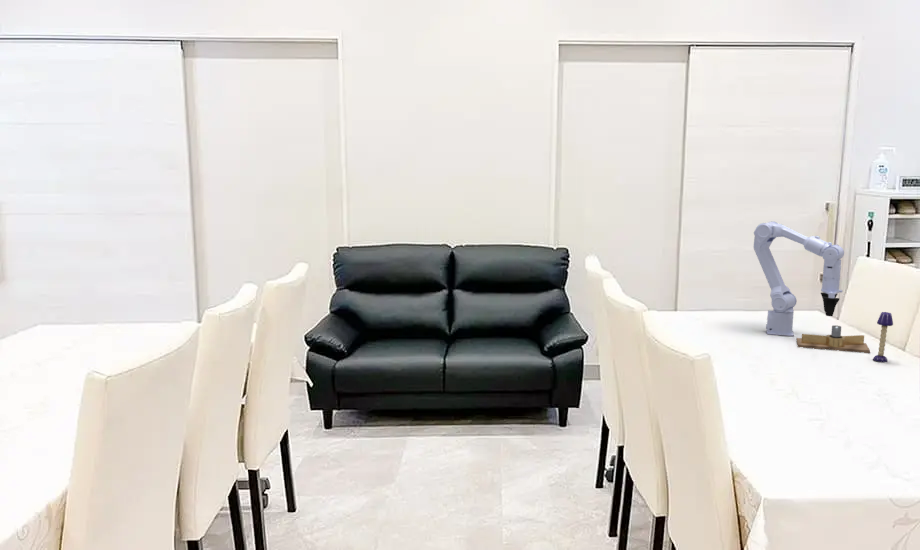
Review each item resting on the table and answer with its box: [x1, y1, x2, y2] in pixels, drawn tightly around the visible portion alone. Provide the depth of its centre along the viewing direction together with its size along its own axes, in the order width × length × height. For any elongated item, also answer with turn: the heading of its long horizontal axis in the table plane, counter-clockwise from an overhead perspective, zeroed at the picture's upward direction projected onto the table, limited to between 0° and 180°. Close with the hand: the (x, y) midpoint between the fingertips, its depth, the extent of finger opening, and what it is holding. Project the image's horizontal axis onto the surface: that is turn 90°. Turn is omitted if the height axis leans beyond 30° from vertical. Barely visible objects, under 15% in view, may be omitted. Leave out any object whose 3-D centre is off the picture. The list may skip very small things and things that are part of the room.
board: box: [796, 337, 871, 354], centre depth 265 cm, size 23×10×1 cm, turn 68°
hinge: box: [801, 333, 865, 348], centre depth 264 cm, size 21×9×3 cm, turn 68°
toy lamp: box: [872, 311, 894, 363], centre depth 245 cm, size 5×5×17 cm
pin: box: [830, 325, 842, 338], centre depth 262 cm, size 3×3×7 cm
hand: (828, 313), depth 272 cm, fingers open, 7 cm apart
